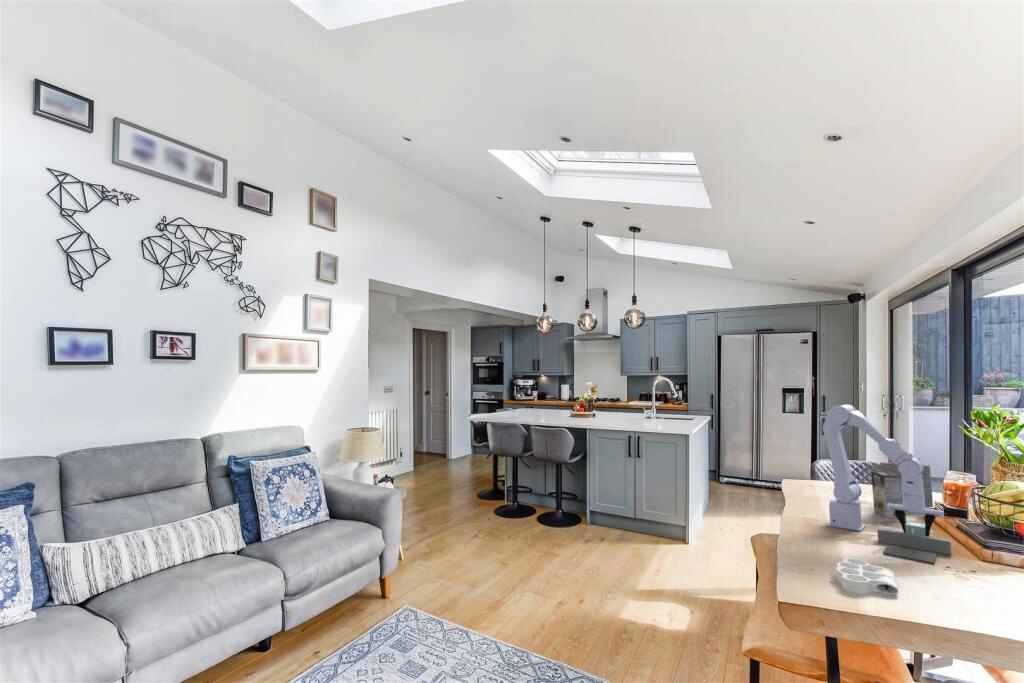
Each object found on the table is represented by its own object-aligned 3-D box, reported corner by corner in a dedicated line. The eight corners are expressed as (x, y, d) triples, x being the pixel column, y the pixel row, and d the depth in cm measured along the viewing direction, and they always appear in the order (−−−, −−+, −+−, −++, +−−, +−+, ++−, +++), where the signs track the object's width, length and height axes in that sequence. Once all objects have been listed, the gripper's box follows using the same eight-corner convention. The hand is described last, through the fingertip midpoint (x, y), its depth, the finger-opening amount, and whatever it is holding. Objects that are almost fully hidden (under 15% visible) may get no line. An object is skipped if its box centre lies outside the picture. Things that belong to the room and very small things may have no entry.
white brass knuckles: (899, 603, 120) (829, 589, 129) (894, 576, 135) (831, 566, 143) (898, 589, 120) (828, 576, 129) (893, 564, 135) (830, 554, 143)
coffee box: (873, 511, 193) (870, 470, 194) (891, 511, 191) (888, 470, 192) (886, 518, 184) (882, 475, 185) (905, 519, 182) (901, 475, 183)
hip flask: (932, 508, 194) (928, 458, 195) (934, 511, 191) (930, 460, 192) (883, 503, 203) (879, 455, 204) (884, 506, 199) (880, 457, 201)
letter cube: (906, 540, 161) (905, 524, 161) (908, 536, 164) (907, 521, 165) (925, 543, 157) (924, 527, 158) (927, 539, 161) (926, 524, 161)
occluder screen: (878, 541, 160) (877, 529, 161) (879, 540, 162) (878, 528, 162) (951, 555, 148) (949, 541, 148) (951, 553, 149) (950, 540, 149)
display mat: (883, 554, 150) (882, 552, 150) (887, 546, 156) (887, 544, 156) (934, 564, 141) (933, 562, 141) (937, 555, 147) (936, 553, 148)
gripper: (884, 493, 164) (887, 533, 163) (940, 500, 154) (944, 543, 153) (887, 489, 169) (890, 528, 168) (942, 495, 159) (946, 538, 158)
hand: (916, 535), depth 161 cm, fingers closed on letter cube, 5 cm apart
